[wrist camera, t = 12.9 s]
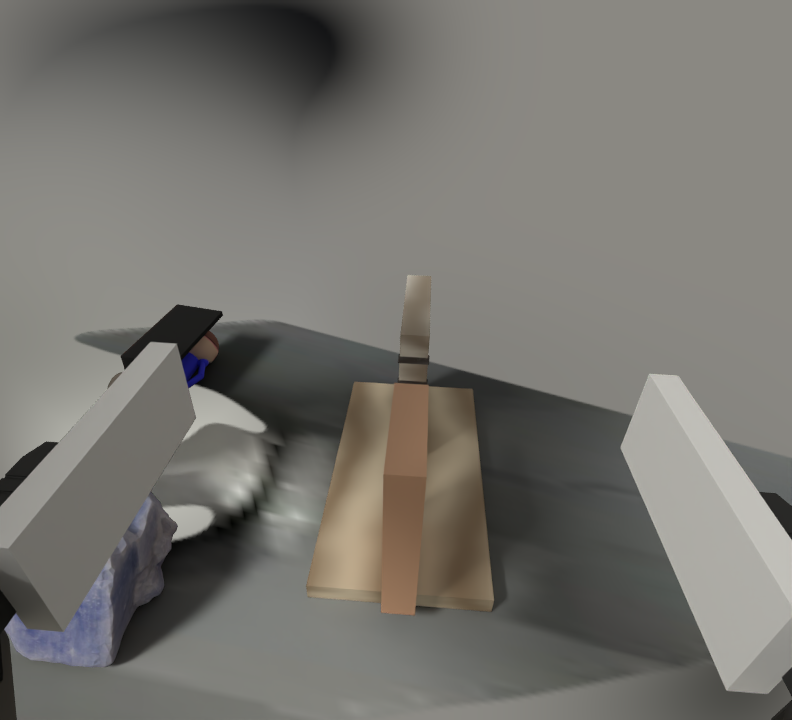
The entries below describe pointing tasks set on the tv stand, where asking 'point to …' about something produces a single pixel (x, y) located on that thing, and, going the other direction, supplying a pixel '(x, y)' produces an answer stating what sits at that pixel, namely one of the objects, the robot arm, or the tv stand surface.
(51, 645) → the mineral
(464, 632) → the tv stand surface
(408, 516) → the orange rectangular panel
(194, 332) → the figurine character
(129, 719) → the tv stand surface
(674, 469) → the robot arm
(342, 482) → the stand
